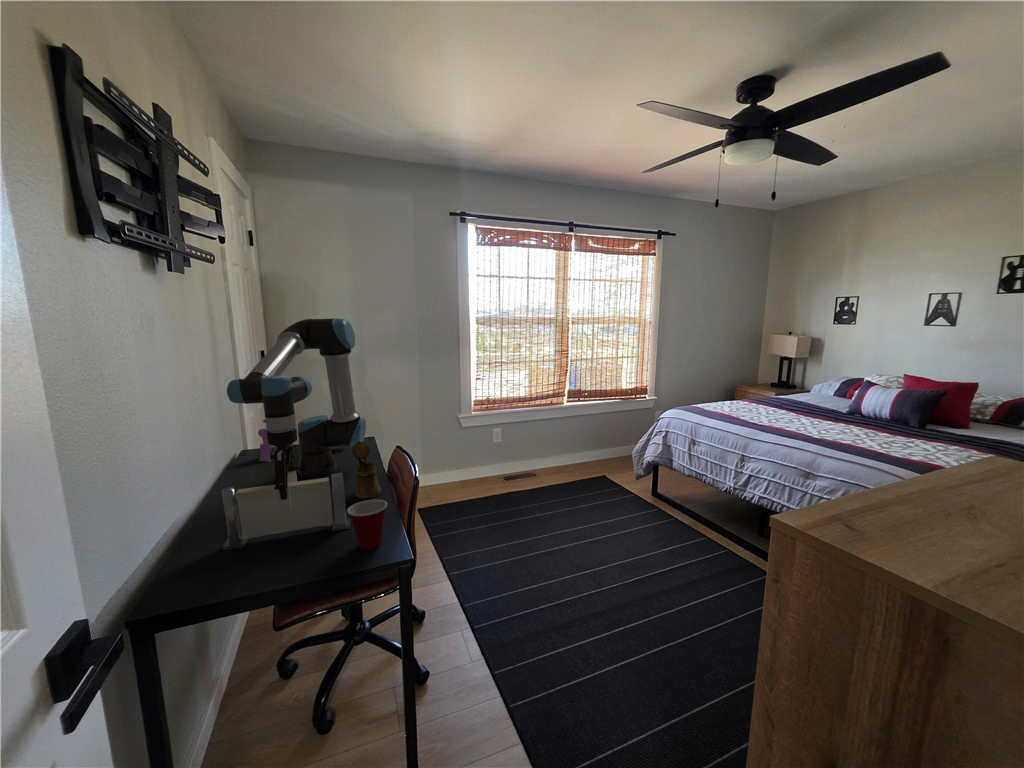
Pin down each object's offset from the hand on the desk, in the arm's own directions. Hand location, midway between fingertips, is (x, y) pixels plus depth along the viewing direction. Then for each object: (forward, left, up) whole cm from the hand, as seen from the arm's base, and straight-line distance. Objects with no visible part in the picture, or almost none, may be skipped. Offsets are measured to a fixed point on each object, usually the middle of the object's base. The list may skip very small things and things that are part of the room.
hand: (289, 499), depth 120 cm
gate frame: (0, -1, -11) cm, 11 cm away
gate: (0, -1, -10) cm, 10 cm away
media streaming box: (-82, +3, -12) cm, 83 cm away
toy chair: (-79, -21, -11) cm, 83 cm away
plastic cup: (+14, +22, -11) cm, 28 cm away
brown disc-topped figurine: (-24, +21, -11) cm, 34 cm away
